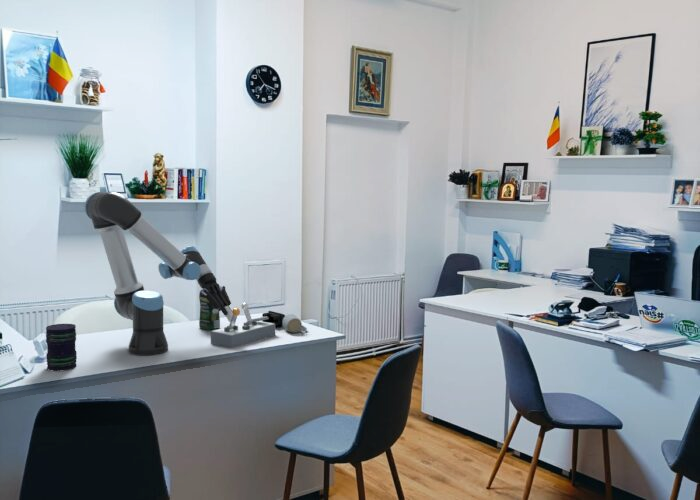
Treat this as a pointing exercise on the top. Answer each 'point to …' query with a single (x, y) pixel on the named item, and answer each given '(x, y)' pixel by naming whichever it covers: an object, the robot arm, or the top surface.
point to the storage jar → (61, 346)
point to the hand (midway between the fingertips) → (232, 320)
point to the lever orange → (234, 318)
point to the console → (242, 334)
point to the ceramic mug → (292, 324)
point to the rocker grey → (261, 318)
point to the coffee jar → (208, 314)
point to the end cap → (274, 318)
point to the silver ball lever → (247, 313)
